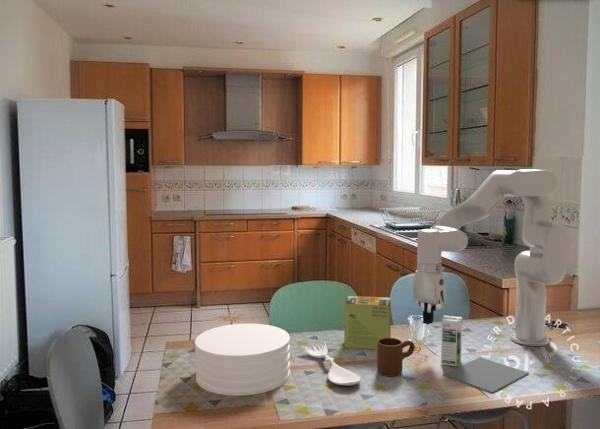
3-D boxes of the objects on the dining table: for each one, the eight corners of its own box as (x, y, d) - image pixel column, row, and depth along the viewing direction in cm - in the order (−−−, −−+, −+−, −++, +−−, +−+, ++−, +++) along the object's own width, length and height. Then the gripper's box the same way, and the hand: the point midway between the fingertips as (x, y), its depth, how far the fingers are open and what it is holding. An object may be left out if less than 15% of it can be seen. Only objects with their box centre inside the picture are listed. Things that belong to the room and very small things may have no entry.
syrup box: (440, 364, 163) (441, 319, 161) (442, 358, 168) (443, 314, 167) (459, 367, 161) (460, 321, 159) (461, 360, 166) (462, 316, 165)
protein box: (389, 350, 176) (390, 305, 174) (344, 347, 179) (344, 303, 177) (390, 339, 186) (391, 297, 184) (347, 337, 189) (347, 295, 187)
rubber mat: (480, 358, 168) (480, 357, 168) (528, 373, 156) (528, 372, 155) (442, 375, 155) (442, 373, 155) (492, 393, 143) (492, 392, 143)
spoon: (324, 350, 177) (324, 340, 177) (366, 388, 147) (366, 377, 147) (299, 353, 174) (299, 343, 174) (336, 393, 144) (336, 381, 144)
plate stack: (296, 391, 146) (296, 351, 144) (194, 399, 141) (192, 358, 140) (283, 354, 173) (283, 321, 172) (197, 360, 169) (196, 326, 167)
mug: (408, 364, 164) (408, 334, 163) (420, 373, 157) (420, 343, 156) (372, 368, 161) (373, 338, 160) (383, 378, 153) (383, 347, 152)
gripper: (455, 269, 165) (454, 326, 167) (417, 262, 177) (416, 315, 178) (441, 273, 160) (440, 331, 162) (403, 265, 172) (402, 320, 174)
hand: (428, 322), depth 170 cm, fingers closed
